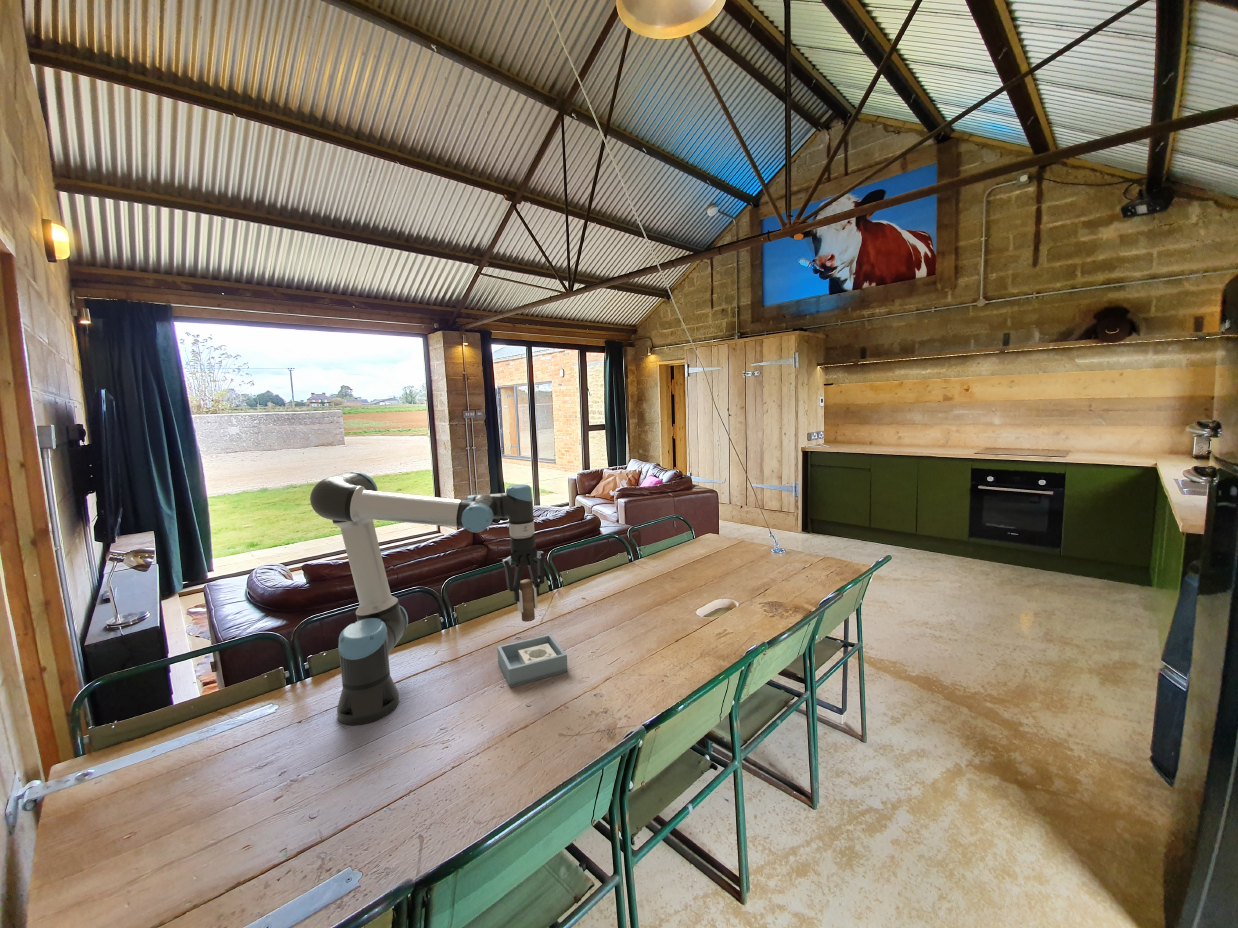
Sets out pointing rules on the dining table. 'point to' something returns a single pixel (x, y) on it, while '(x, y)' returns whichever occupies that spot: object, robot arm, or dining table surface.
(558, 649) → the box
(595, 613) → the dining table surface
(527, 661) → the plate
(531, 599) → the peg
